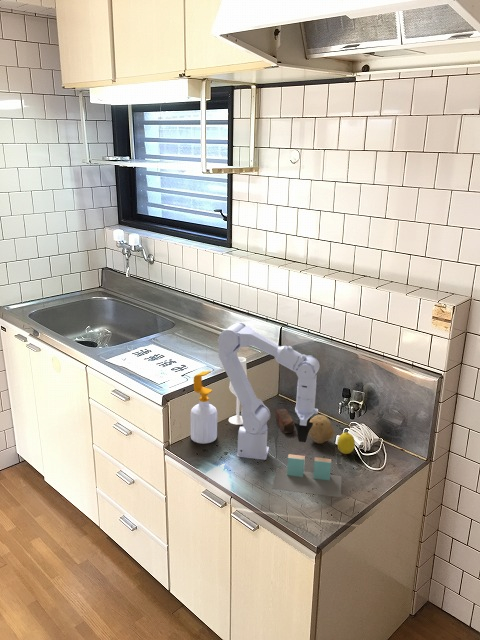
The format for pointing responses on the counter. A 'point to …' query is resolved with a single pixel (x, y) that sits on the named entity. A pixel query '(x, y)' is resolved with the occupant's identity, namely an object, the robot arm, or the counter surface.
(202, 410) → the soap bottle
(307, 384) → the robot arm
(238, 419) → the champagne flute
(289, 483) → the mat
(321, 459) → the tile right
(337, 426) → the counter surface
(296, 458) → the tile left
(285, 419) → the brick
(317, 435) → the brown round lump
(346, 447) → the lemon
